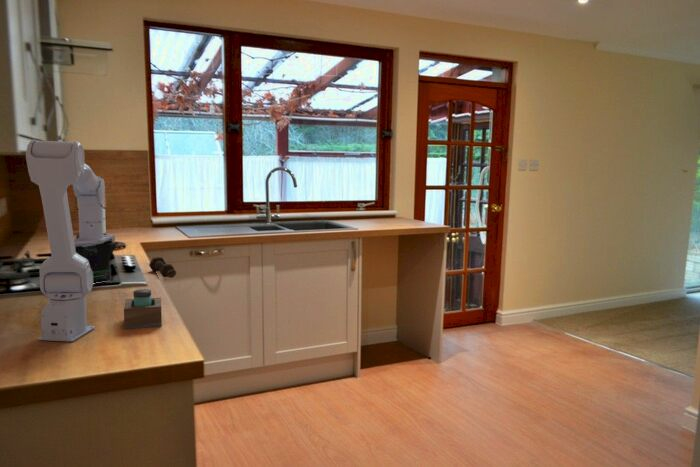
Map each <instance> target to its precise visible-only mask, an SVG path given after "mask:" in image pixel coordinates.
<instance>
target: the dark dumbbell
mask: <svg viewBox="0 0 700 467" xmlns="http://www.w3.org/2000/svg"><path fill="white" fill-rule="evenodd" d="M148 266H149V268H150V270H151V271H153V273H154V272H159V273H160V274H161V276H162V277H163V278H169V279H172V278H174V277H176V275H177V271H176V269H175V268H174V267H173V265H172V264H171V263H166V261H165V260H164V258H163V257H161V256H159V257H158V256H157V257H155V256H154V257H153V258H152V259H151V260H150V262H149V264H148Z"/></svg>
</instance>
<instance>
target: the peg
mask: <svg viewBox="0 0 700 467" xmlns="http://www.w3.org/2000/svg"><path fill="white" fill-rule="evenodd" d="M132 295H133V299H134V307H136V306H151V298H152V290H151V289H147V288H143V289H142V288H141V289H140V288H139V289H136V290H133V294H132Z"/></svg>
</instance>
